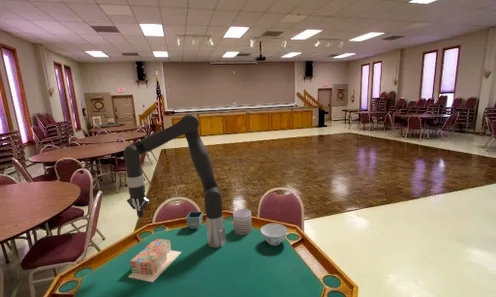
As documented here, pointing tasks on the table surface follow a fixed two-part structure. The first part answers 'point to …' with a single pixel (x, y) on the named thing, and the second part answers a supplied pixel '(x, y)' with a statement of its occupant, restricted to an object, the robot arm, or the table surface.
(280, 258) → the table surface
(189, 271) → the table surface
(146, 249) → the stack of blocks
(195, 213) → the flower pot
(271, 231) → the chinaware
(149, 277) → the mat
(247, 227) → the can
